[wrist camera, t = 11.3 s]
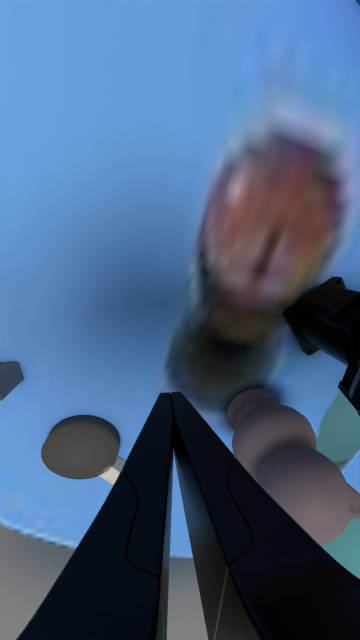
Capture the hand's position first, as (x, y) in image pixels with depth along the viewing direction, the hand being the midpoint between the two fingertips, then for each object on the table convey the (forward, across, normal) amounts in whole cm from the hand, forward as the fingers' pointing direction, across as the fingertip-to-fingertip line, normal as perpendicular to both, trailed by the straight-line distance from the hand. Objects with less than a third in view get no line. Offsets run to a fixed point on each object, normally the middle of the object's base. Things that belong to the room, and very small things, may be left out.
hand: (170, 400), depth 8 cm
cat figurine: (+12, -11, +13) cm, 21 cm away
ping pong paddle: (+12, +9, +17) cm, 22 cm away
